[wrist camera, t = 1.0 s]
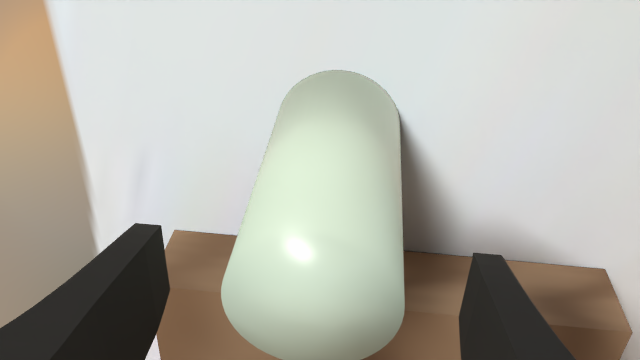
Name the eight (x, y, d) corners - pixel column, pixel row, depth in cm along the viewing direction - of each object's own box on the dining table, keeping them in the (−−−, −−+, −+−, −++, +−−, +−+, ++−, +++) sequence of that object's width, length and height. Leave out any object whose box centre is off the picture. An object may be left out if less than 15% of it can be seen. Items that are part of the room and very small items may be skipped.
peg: (406, 75, 18) (415, 243, 12) (393, 182, 21) (394, 374, 14) (277, 65, 19) (215, 225, 12) (278, 172, 21) (225, 356, 14)
